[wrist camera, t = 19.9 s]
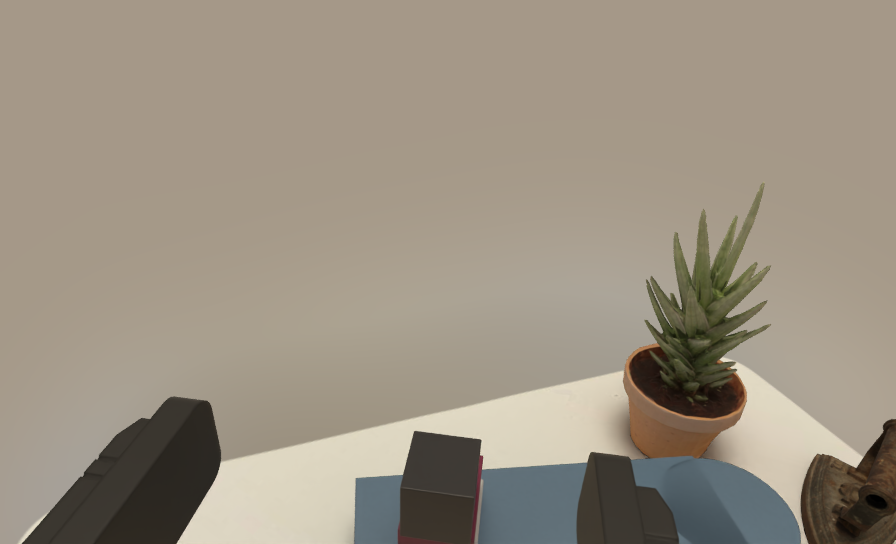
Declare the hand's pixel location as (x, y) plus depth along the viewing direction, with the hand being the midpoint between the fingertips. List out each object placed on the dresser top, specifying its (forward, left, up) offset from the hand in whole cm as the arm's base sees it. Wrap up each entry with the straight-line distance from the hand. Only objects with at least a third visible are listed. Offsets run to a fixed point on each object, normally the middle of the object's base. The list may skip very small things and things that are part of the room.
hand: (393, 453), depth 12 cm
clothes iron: (+39, 0, -28) cm, 48 cm away
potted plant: (+34, +12, -28) cm, 46 cm away
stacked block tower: (+9, +12, -23) cm, 27 cm away
